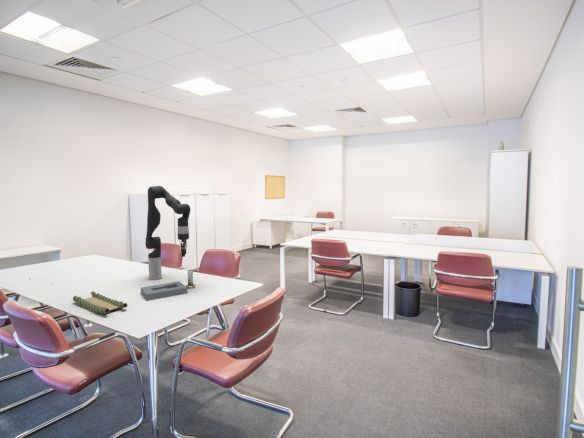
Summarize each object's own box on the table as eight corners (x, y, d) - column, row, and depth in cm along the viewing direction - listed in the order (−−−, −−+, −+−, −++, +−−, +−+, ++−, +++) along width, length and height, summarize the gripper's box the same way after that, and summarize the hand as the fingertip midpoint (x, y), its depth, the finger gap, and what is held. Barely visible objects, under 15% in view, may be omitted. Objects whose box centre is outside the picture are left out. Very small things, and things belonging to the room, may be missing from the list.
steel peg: (184, 287, 236) (184, 271, 235) (193, 285, 240) (193, 269, 239) (187, 289, 231) (187, 272, 230) (196, 287, 235) (196, 271, 234)
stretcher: (129, 310, 192) (128, 302, 192) (103, 318, 180) (103, 309, 180) (95, 297, 215) (95, 290, 215) (71, 303, 203) (70, 296, 203)
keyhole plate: (140, 293, 223) (140, 287, 222) (179, 286, 238) (179, 281, 237) (146, 300, 208) (146, 294, 208) (187, 293, 223) (187, 287, 223)
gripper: (178, 231, 234) (179, 253, 235) (176, 234, 220) (177, 257, 222) (189, 231, 236) (190, 253, 237) (187, 233, 222) (188, 257, 223)
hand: (184, 255), depth 229 cm, fingers open, 8 cm apart
